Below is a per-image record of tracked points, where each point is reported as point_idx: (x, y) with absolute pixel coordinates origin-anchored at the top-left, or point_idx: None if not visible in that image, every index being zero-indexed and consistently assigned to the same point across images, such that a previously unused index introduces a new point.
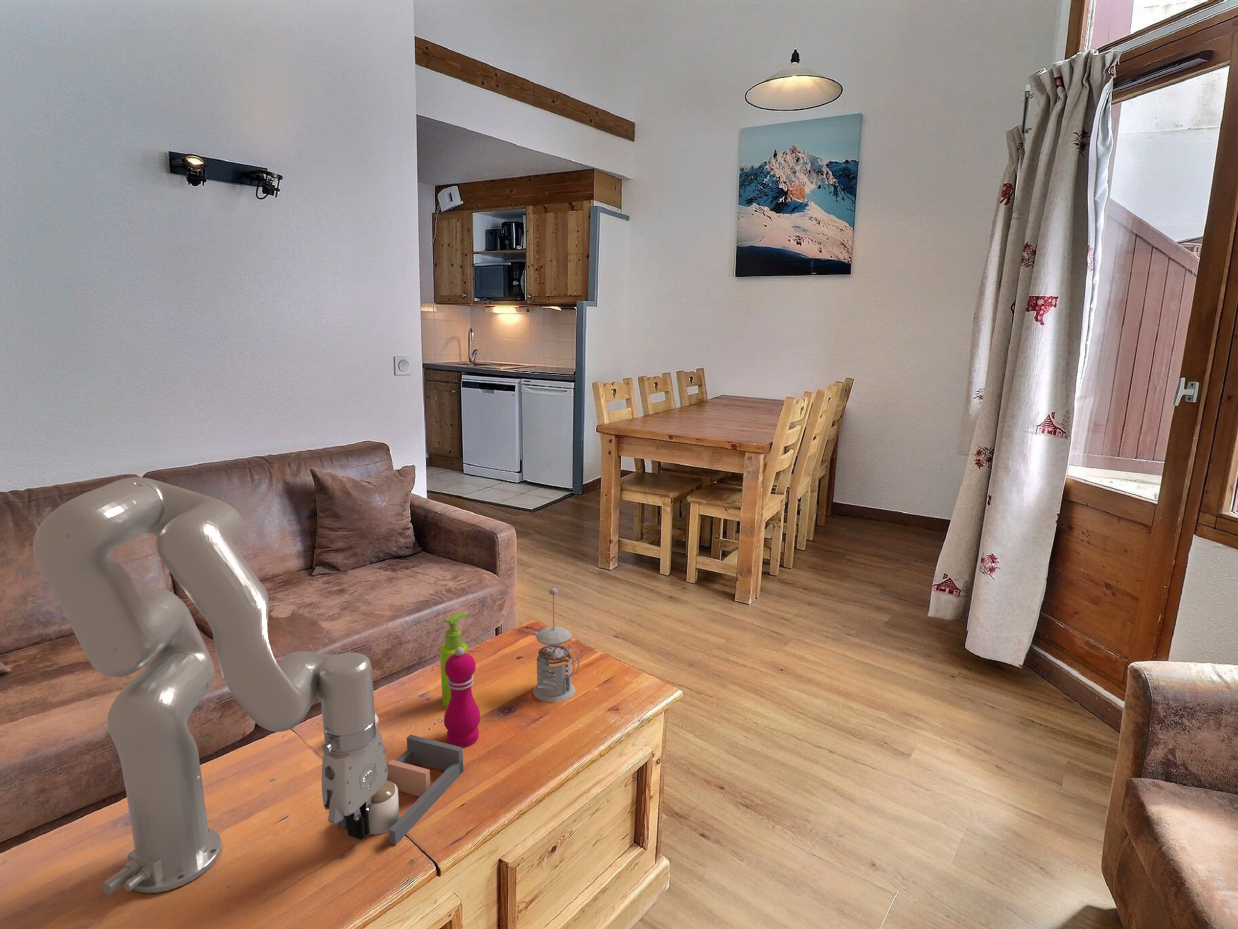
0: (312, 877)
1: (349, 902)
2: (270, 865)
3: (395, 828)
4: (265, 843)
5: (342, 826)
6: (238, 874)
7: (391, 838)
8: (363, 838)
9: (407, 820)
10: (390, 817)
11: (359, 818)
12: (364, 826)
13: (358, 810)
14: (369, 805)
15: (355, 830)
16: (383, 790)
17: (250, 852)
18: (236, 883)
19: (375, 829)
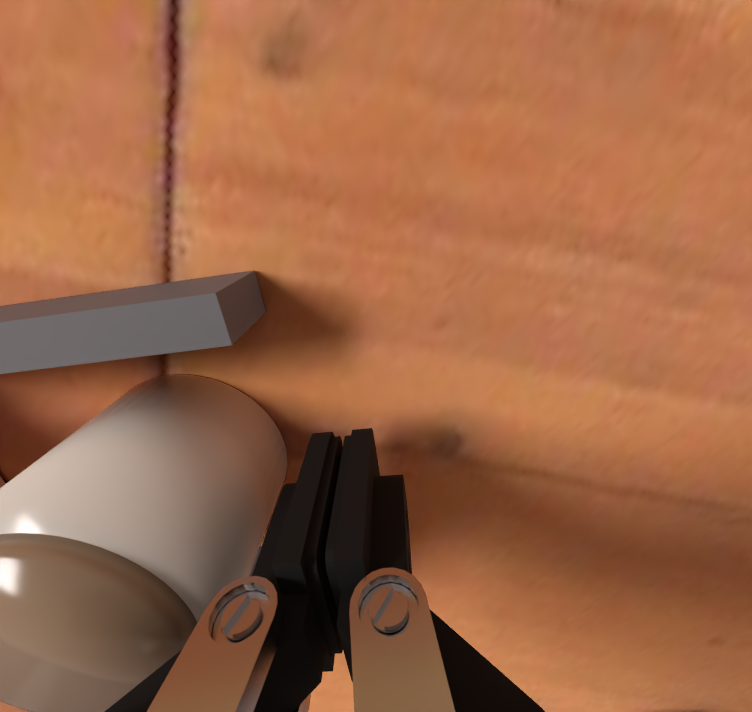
0: (602, 460)
1: (714, 171)
2: (594, 610)
3: (191, 314)
4: (513, 675)
5: None
6: (660, 651)
7: (249, 307)
8: (367, 430)
9: (85, 307)
10: (154, 418)
11: (372, 575)
12: (338, 484)
13: (374, 685)
14: (217, 616)
15: (401, 505)
16: (20, 631)
17: (563, 681)
18: (699, 633)
19: (259, 433)
